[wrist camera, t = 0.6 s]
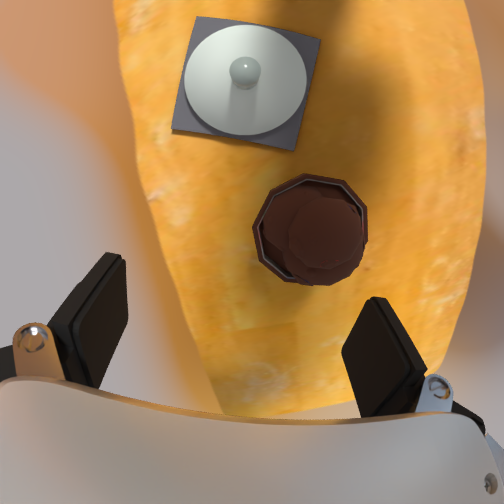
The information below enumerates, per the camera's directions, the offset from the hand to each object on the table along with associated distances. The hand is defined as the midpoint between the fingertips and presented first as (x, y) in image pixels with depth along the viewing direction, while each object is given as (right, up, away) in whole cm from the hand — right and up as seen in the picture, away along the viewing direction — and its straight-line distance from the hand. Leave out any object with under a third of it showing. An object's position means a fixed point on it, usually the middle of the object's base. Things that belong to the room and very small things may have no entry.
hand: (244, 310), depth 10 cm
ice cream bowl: (+6, +8, +24) cm, 26 cm away
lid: (0, +21, +16) cm, 26 cm away
